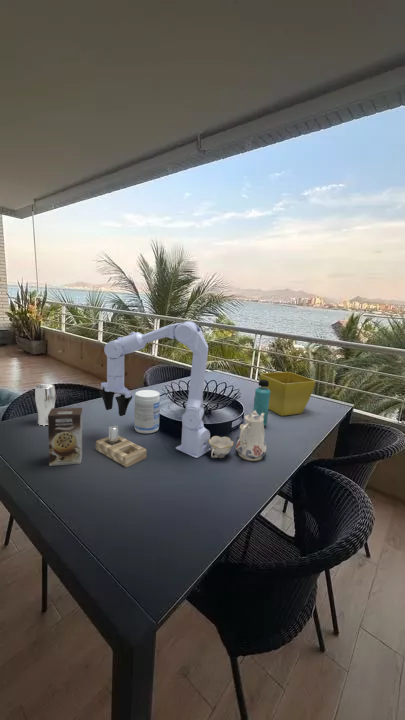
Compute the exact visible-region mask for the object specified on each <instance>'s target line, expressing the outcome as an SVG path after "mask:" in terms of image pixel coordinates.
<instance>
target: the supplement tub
mask: <svg viewBox="0 0 405 720" xmlns="http://www.w3.org/2000/svg"><path fill="white" fill-rule="evenodd" d="M160 403H161V393H160V392H159V391H158V390H157V391H156V390H154V389H143V390H138V391H136V392H135V395H134V425H133V426H134V429H135V431H136V432H137V433H140V434H145V435H146V434H147V435H148V434H152V433H156V432H157V431H158V430H159V428H160V409H161V407H160V406H161V405H160Z"/></svg>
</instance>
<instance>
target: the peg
mask: <svg viewBox="0 0 405 720" xmlns="http://www.w3.org/2000/svg"><path fill="white" fill-rule="evenodd" d="M118 435H119V426H118V425H110V426H108V437H109V445H111V446H112V445H115V444H117V443H118Z"/></svg>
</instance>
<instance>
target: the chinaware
mask: <svg viewBox="0 0 405 720" xmlns="http://www.w3.org/2000/svg"><path fill="white" fill-rule="evenodd" d="M253 410H254V409H253ZM264 414H265V413H261V415H260V416H259V415H258V414H257V412H256V410H254V411H252V412H251V413H250V414H247V415H244V420H245V424H244V423H241V424H240V425H239V430H240V432H239V433H240V434H239V436H238V437H239V438H238V440H237V443H236V445H235V442H234V440H231V438H230V437H228V436H219V435H213V436H212V437H210V439H209V440H208V442H209V444H210V446H209V448H210V449H211V450H210V451H211V454H210V455H211V458H212V459H213V458H219V459H222V458H225V456H226V455H228V454H229V452H230V451H231V449H232V448H233V446H234V445H235V450H236V452H238V453H237V454H238V457H240V458H241V459H243V460H246V461H253V462H257V461H261V460H262V459H263V458H264V456H265V455H266V454H267V449H268V446H267V443H266V441H265V434H266V433H265V425H264V423H263V420H264V418H263V417H264ZM213 454H214V455H213Z"/></svg>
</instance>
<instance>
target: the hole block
mask: <svg viewBox="0 0 405 720" xmlns="http://www.w3.org/2000/svg"><path fill="white" fill-rule="evenodd" d="M95 450H96V451H97V452H99V453H100V454H103V455H104V456H106V457H107V458H110V459H111V460H113V461H114V462H117V463H118V464H119V465H121V466H123V467H125V468H128V467H130V466H133V465H135V464H136V463H139V462H140V461H142V460H145V459H147V449H146V448H144V447H142V446H141V445H139V444H137V443H134V442H132V441H130V440H128V439H127V438H124V437H122V436H121V435H119V434H118V443H117V444H115V445H112V446H111V445H109V436H107V437H103V438H101V439H98V440H95Z"/></svg>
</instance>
